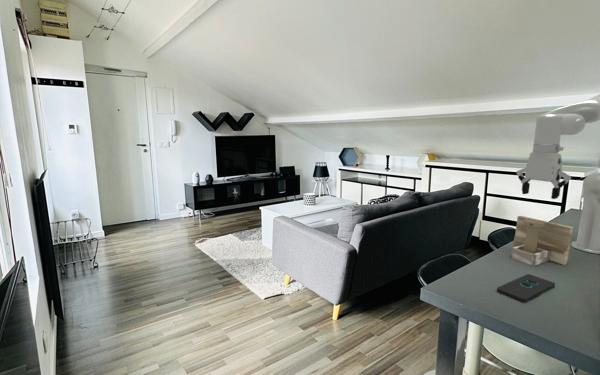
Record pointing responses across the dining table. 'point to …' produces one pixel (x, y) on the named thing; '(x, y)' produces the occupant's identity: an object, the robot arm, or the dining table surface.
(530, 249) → the handle
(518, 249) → the wooden wall shelf
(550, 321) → the dining table surface
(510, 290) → the smart home device
